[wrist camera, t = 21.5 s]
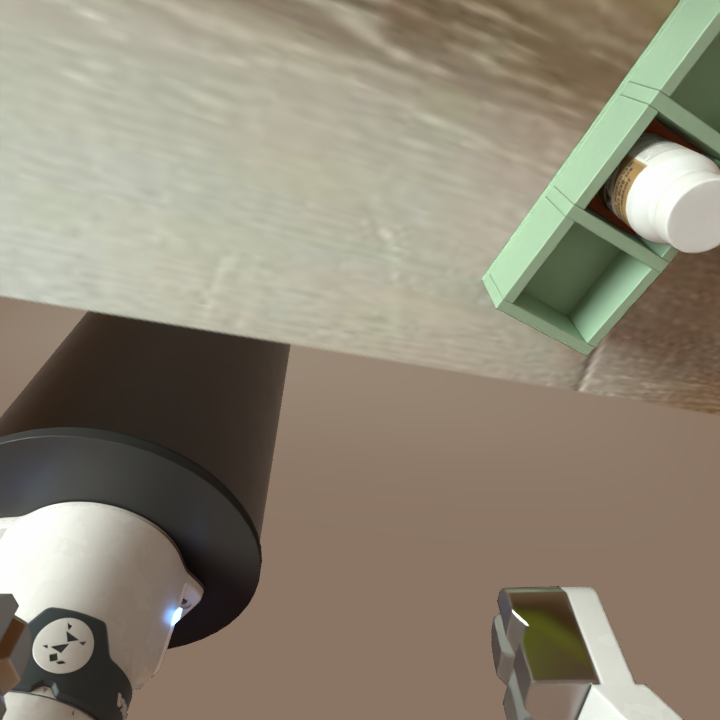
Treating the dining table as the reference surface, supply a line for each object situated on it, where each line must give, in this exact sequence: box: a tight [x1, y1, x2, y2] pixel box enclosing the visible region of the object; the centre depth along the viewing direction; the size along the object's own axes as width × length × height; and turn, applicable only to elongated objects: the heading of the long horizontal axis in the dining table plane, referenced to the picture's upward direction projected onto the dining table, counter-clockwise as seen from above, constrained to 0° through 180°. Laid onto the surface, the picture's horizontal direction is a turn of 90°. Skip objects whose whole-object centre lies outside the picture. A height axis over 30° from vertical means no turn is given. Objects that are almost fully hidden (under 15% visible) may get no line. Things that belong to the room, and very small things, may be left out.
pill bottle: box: [597, 133, 720, 253], centre depth 29 cm, size 4×4×8 cm
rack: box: [482, 0, 720, 356], centre depth 31 cm, size 19×7×4 cm, turn 151°
